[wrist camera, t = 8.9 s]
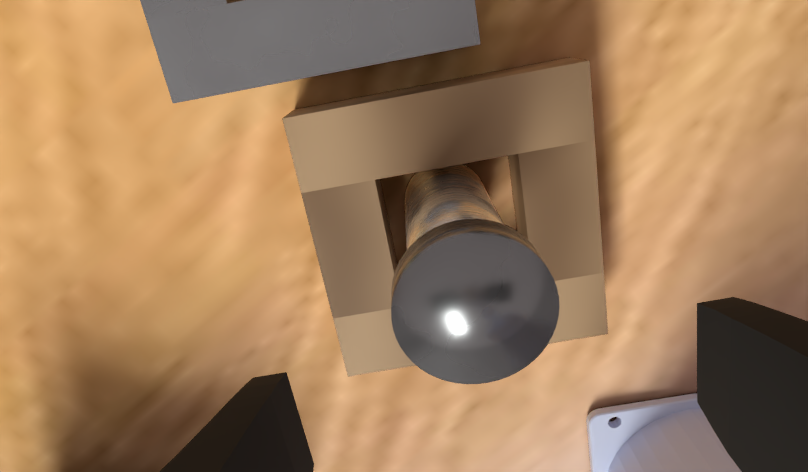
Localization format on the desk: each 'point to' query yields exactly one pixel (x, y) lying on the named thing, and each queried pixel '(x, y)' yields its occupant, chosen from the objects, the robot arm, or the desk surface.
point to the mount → (295, 38)
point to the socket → (441, 147)
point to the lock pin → (468, 284)
